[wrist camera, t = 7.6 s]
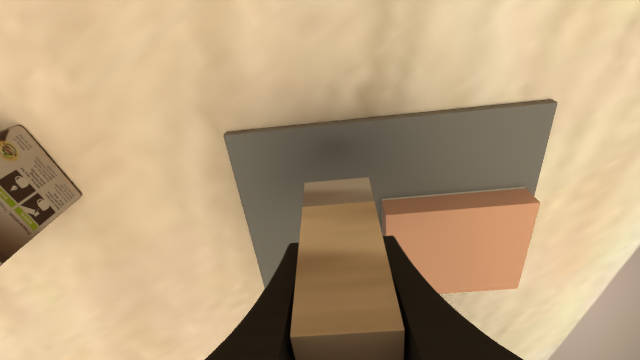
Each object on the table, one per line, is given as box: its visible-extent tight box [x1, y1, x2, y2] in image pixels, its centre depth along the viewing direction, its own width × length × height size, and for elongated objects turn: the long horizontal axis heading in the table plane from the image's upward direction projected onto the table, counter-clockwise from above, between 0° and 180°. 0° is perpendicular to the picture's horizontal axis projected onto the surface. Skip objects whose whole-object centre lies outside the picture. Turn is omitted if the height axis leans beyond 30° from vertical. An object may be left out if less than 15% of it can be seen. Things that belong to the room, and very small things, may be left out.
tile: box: [382, 187, 540, 294], centre depth 25 cm, size 8×2×10 cm
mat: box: [224, 100, 558, 288], centre depth 25 cm, size 15×21×1 cm
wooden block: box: [290, 177, 405, 360], centre depth 13 cm, size 3×3×8 cm
